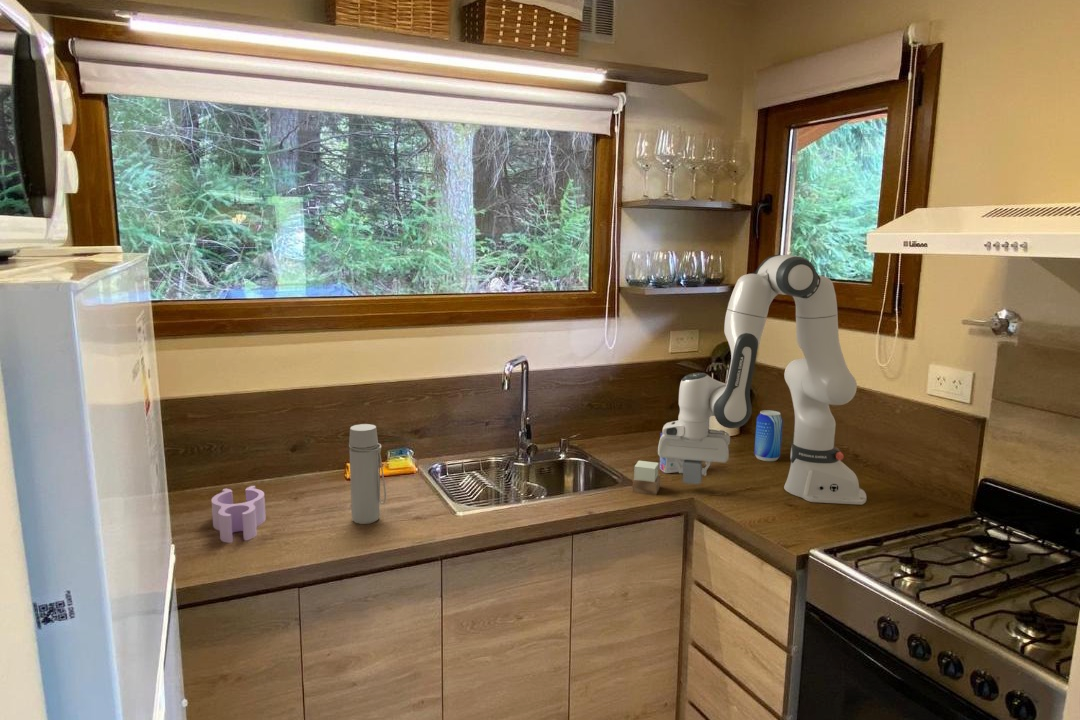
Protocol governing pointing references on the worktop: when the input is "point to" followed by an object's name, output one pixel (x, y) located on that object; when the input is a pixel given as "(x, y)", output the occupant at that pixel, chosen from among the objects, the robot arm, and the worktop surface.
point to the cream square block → (646, 471)
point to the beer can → (768, 435)
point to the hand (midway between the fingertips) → (692, 473)
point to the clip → (238, 513)
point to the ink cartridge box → (669, 464)
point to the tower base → (646, 486)
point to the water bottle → (365, 473)
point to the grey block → (692, 471)
